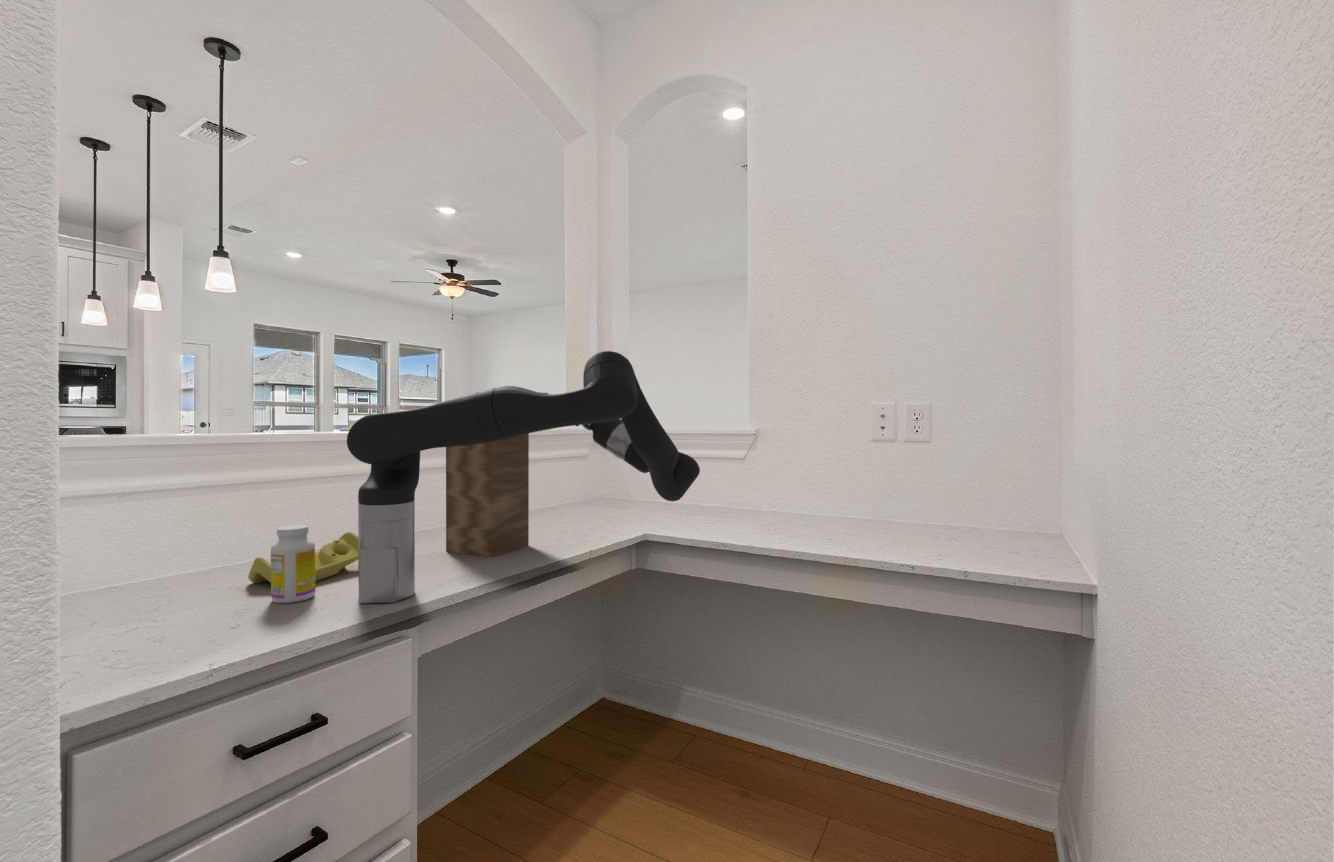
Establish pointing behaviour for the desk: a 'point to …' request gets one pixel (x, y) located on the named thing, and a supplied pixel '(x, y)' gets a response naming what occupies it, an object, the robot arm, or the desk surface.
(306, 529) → the supplement bottle
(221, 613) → the desk surface
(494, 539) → the pedestal
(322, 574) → the plastic component
